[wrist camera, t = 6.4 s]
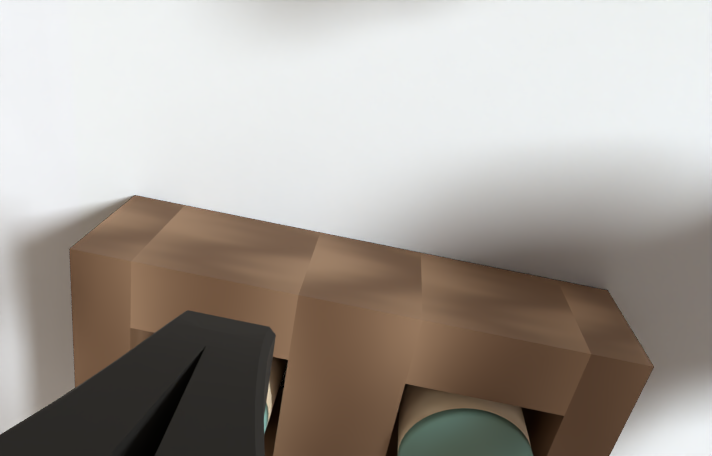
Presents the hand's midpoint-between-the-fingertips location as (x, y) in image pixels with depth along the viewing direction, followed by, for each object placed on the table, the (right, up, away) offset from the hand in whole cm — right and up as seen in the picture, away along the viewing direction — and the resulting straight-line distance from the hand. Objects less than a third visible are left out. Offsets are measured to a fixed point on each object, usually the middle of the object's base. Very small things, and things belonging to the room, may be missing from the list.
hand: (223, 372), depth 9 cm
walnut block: (+2, -2, +12) cm, 13 cm away
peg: (+6, -3, +12) cm, 14 cm away
